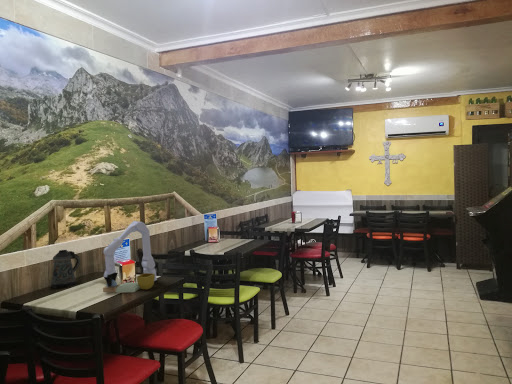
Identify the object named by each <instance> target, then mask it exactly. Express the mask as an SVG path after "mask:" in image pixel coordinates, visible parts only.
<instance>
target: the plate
mask: <svg viewBox="0 0 512 384" xmlns="http://www.w3.org/2000/svg"><path fill="white" fill-rule="evenodd" d="M117 285H118V283H117V280H116V281H115V280H112V286H108V285H107V283H106V285H105V286H107V287H116V286H117Z"/></svg>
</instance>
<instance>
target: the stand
mask: <svg viewBox="0 0 512 384" xmlns="http://www.w3.org/2000/svg"><path fill="white" fill-rule="evenodd" d="M120 285H121V284H117V286H116V287H107V286H106V285H105V286H104V287H103V288H102V292H103V293H105V292H106V293H107V292H109V293H113V292H116V289H117V287H119V286H120Z"/></svg>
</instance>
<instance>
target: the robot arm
mask: <svg viewBox="0 0 512 384" xmlns="http://www.w3.org/2000/svg"><path fill="white" fill-rule="evenodd" d="M135 232H139V233H140V234H141V242H142V254H143V256H142V260H141V263H140V264H141V266H142V268H143V274H144V273H150V274H155V279H154V282H155V281H157V280H158V278H157V271H156V268H155V267H156V262H155V260H154V257H153V256H152V249H151V237H150V229H149V228H148V227H147V225H146V223H144V222H142V221H138V220H133V221H132V222H131V223H130V224H129V225H128V226H127V227H126V228H125V230H124V231H123V232H122V233H121V234H120V235H119V237H115V238H113V239H112V241H111V242H110V244H108V245H107V246H106V247H104V249H103V251H102V252H103V254H104V261H105V264H104V265H105V271H104V273H103V278H104V280H105V282H106V284H107V285H108V286H112V280H115V281H116V282H117V277H118V275H119V273H118V272H116V270H115V269H116V266H115V254H116V251H117V250H118V249H119V248H120V247H121V246H122V245H123V242H124V240H125V239H126V238H127V237H128V236H130V235H131V234H132V233H135ZM117 274H118V275H117Z"/></svg>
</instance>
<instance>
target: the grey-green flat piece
mask: <svg viewBox="0 0 512 384" xmlns="http://www.w3.org/2000/svg"><path fill="white" fill-rule="evenodd" d="M119 285H120V286H119V287H117V289H116V293H117V294H118V293H120V294H121V293H136V292H137V291H138V290H141V288H140V287H139V285H138V282H123V283H122V284H119Z"/></svg>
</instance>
